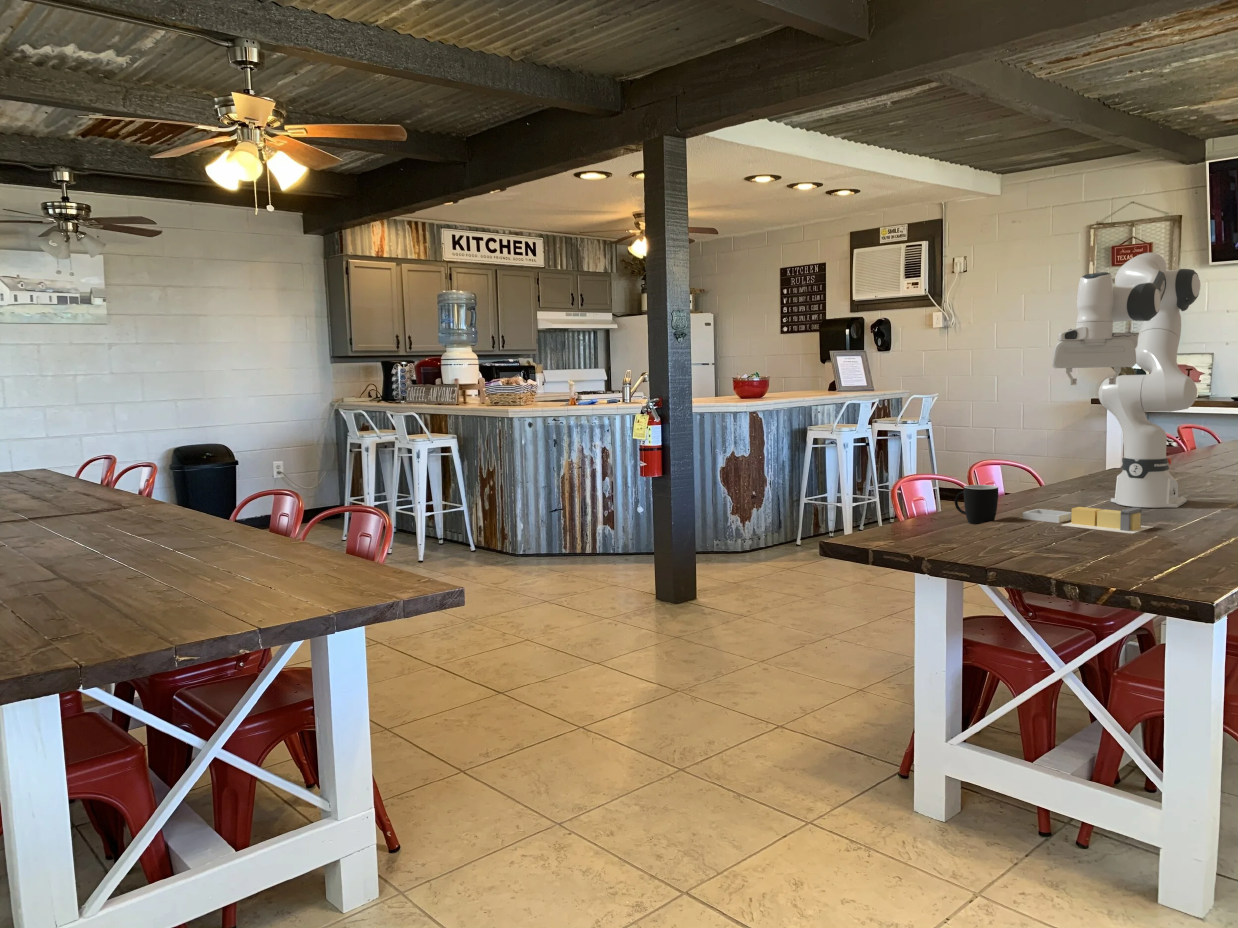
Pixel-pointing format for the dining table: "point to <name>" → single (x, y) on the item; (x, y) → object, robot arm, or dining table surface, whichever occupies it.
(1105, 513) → the board
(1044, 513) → the stub tray
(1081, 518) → the stub
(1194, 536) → the dining table surface
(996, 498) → the mug
